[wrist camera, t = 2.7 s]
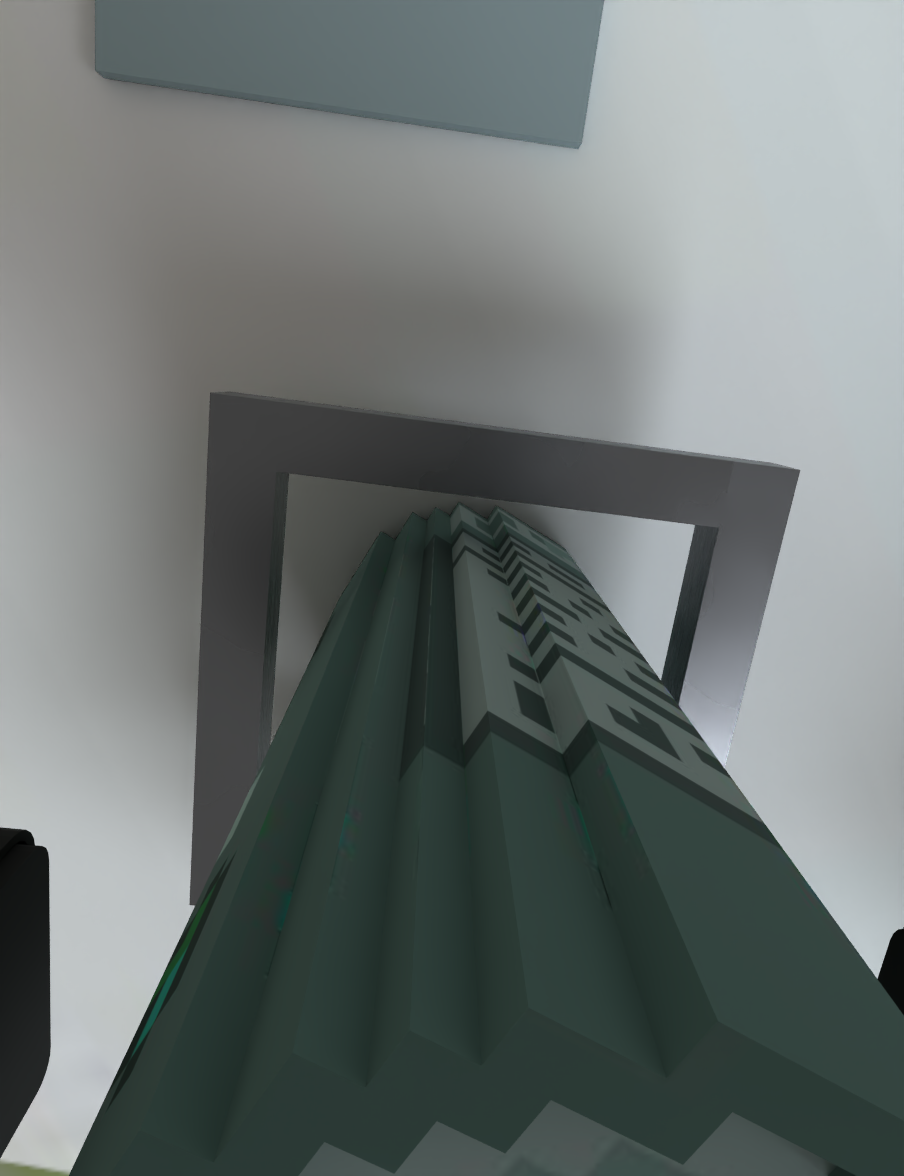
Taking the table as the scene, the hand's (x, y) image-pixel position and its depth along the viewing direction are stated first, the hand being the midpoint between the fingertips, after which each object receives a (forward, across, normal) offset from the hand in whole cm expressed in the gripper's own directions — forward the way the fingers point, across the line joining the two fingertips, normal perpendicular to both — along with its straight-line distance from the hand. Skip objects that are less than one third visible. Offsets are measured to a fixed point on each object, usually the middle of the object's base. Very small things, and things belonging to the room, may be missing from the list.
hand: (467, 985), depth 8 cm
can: (+11, 0, -1) cm, 11 cm away
